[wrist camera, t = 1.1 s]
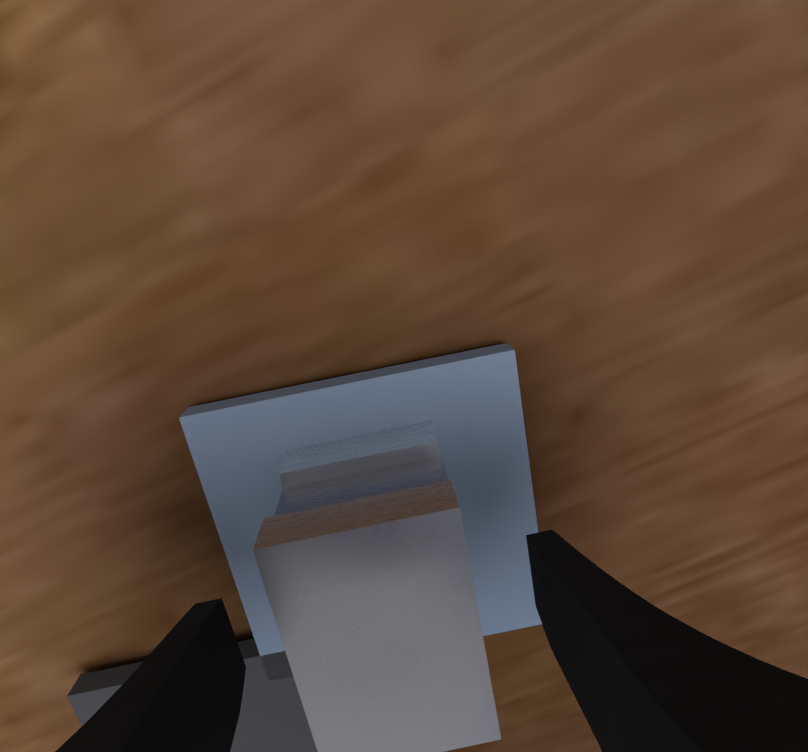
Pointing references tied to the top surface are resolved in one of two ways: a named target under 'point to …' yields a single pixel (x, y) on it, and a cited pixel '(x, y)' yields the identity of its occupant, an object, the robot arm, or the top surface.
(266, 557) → the block
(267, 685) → the stand
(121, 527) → the top surface
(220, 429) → the stand
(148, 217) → the top surface
